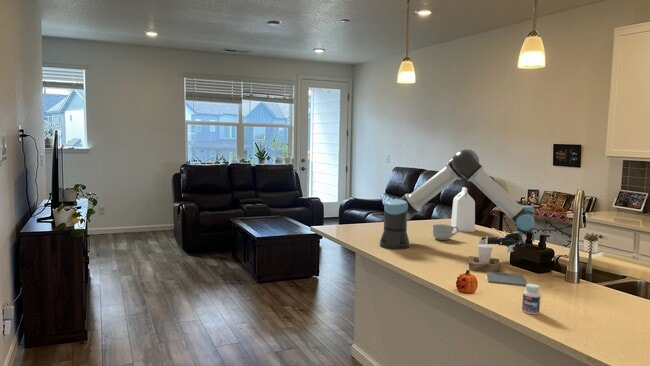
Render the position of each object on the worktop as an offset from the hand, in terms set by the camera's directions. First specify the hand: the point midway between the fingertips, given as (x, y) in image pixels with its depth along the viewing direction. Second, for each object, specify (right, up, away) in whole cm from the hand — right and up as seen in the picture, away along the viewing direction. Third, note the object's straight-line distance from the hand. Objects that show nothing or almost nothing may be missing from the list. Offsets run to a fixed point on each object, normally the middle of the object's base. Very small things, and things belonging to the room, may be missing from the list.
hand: (493, 246), depth 211 cm
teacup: (-9, -3, +52) cm, 53 cm away
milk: (+10, -1, +83) cm, 84 cm away
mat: (-2, -10, -20) cm, 23 cm away
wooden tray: (-6, -9, -4) cm, 11 cm away
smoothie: (-6, -9, -4) cm, 11 cm away
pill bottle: (-8, -14, -56) cm, 58 cm away
